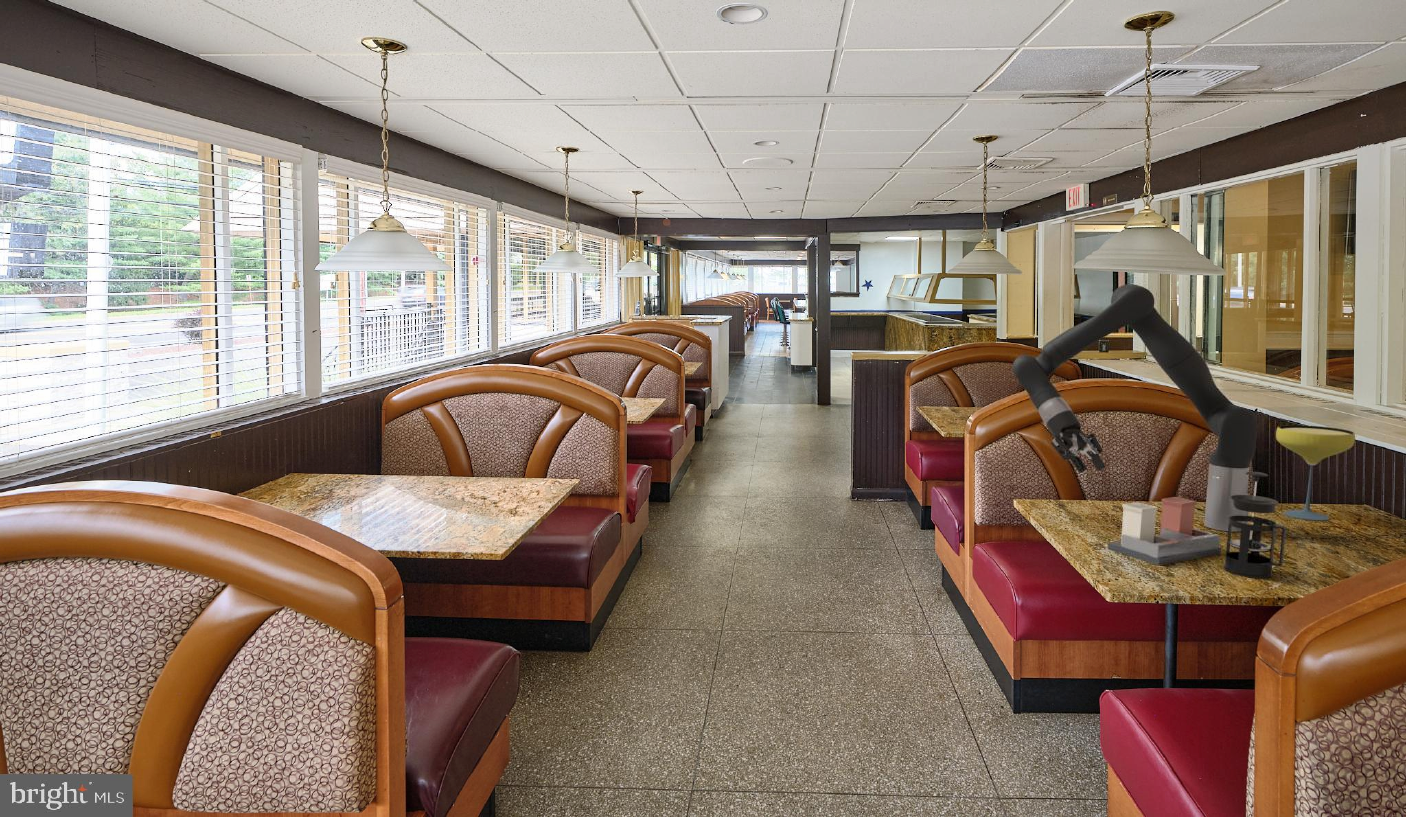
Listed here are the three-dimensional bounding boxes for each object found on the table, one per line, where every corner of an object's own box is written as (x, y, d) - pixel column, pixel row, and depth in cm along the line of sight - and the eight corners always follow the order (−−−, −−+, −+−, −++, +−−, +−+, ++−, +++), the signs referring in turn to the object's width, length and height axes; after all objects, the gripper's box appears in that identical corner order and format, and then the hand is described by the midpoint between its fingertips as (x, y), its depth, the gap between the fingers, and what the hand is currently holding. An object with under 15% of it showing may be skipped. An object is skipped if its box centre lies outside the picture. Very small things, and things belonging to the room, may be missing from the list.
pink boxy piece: (1158, 537, 213) (1161, 498, 212) (1173, 535, 215) (1176, 496, 214) (1178, 543, 208) (1181, 503, 207) (1193, 540, 211) (1196, 501, 209)
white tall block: (1119, 544, 207) (1122, 504, 206) (1134, 541, 210) (1137, 502, 208) (1139, 550, 203) (1142, 509, 201) (1154, 547, 205) (1157, 507, 204)
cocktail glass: (1255, 512, 246) (1263, 427, 242) (1291, 505, 254) (1299, 423, 251) (1323, 527, 230) (1333, 436, 226) (1359, 519, 238) (1369, 432, 235)
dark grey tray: (1107, 548, 209) (1108, 531, 209) (1167, 538, 218) (1169, 521, 218) (1158, 565, 197) (1160, 546, 196) (1220, 553, 206) (1222, 535, 205)
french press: (1214, 570, 193) (1222, 471, 190) (1227, 561, 199) (1236, 466, 196) (1274, 583, 184) (1284, 480, 181) (1286, 574, 191) (1296, 474, 188)
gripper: (1047, 410, 220) (1082, 463, 211) (1087, 408, 226) (1122, 459, 217) (1030, 427, 225) (1063, 480, 216) (1069, 424, 231) (1103, 475, 222)
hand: (1092, 469), depth 217 cm, fingers open, 6 cm apart
